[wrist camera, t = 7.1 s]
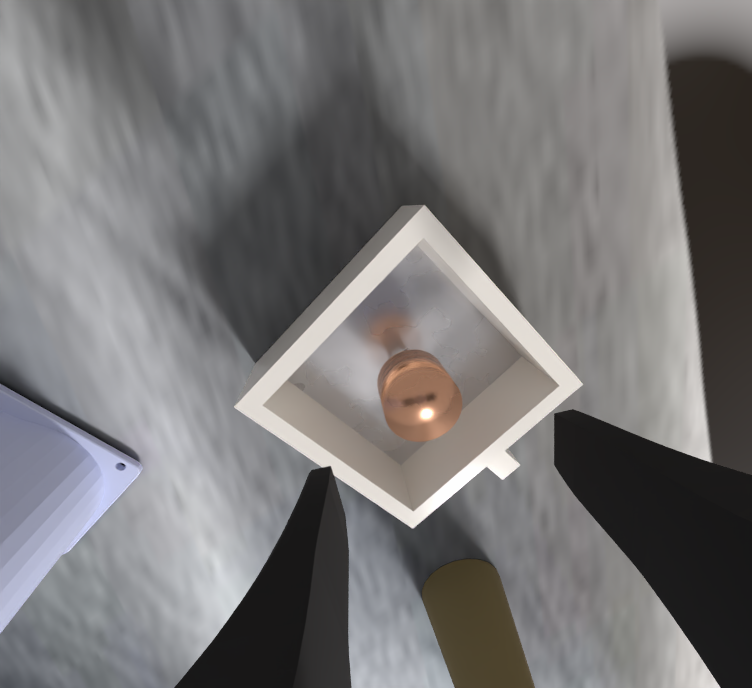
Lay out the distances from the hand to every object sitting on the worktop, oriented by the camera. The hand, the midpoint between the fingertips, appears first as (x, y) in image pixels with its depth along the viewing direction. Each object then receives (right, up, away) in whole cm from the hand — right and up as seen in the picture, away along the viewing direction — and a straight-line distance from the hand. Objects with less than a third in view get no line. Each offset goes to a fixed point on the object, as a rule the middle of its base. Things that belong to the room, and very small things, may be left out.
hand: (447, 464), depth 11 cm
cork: (+4, -14, +16) cm, 22 cm away
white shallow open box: (-1, +3, +8) cm, 9 cm away
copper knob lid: (-1, +3, +8) cm, 8 cm away
